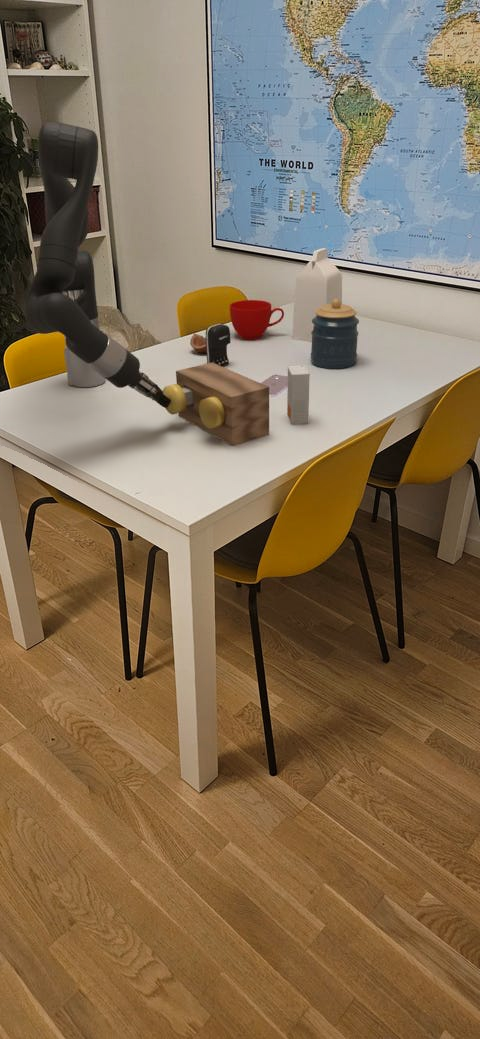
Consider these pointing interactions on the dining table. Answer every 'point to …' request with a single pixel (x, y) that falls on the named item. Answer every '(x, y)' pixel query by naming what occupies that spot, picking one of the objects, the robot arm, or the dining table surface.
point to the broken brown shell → (198, 343)
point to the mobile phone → (276, 384)
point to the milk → (314, 292)
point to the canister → (334, 336)
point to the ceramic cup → (252, 318)
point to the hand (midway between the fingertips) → (167, 403)
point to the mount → (225, 403)
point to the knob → (178, 398)
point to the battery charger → (217, 344)
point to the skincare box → (298, 394)
